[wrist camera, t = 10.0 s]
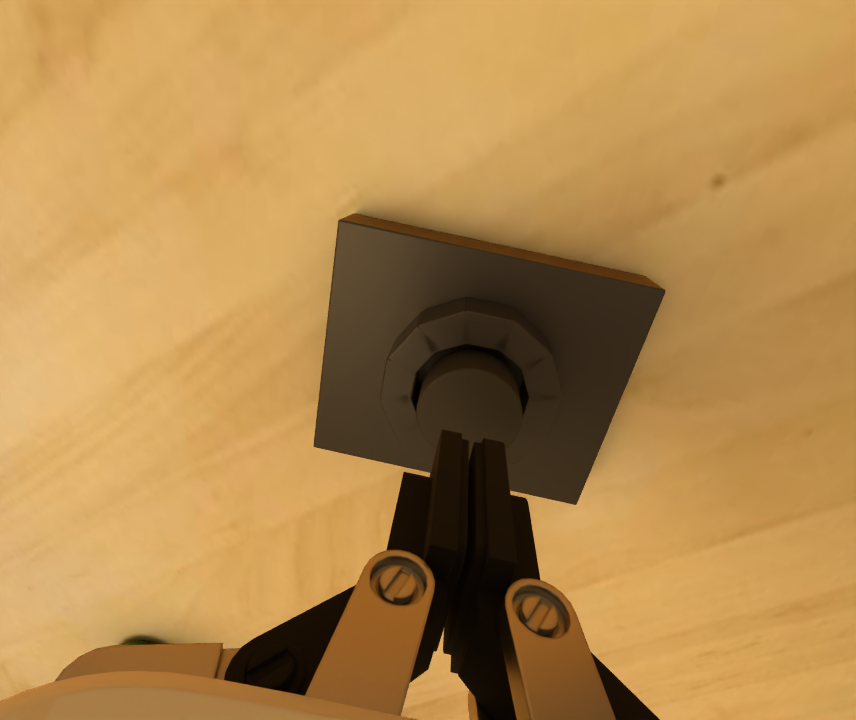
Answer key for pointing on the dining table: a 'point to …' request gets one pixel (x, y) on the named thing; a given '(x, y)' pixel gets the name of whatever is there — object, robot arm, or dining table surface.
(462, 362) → the button
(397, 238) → the button block
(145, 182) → the dining table surface
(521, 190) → the dining table surface
